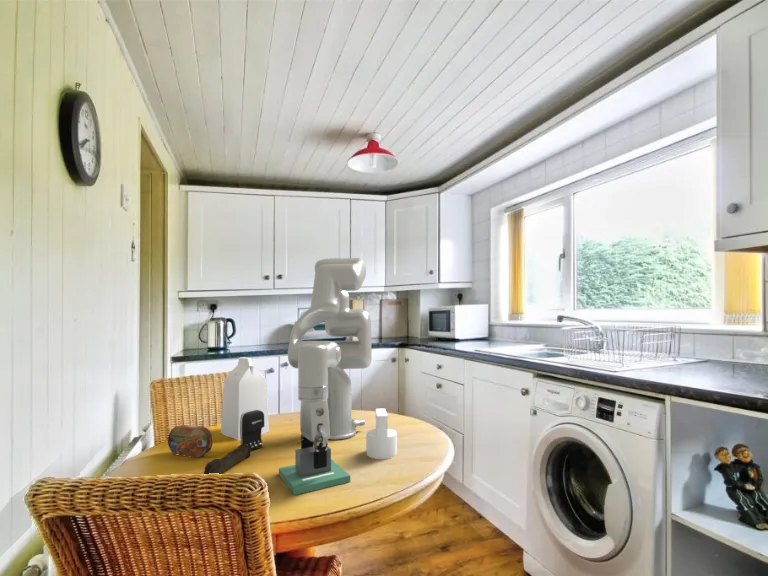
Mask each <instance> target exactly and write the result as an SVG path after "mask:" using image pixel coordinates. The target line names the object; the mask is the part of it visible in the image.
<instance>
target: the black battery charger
mask: <svg viewBox="0 0 768 576" xmlns="http://www.w3.org/2000/svg"><path fill="white" fill-rule="evenodd" d="M262 427H264V413H263V412H262V411H259V410H252V411H248V412H245V413H243V414H242V415H241V419H240V438H241V440H240V445H242V444H244V445H248V446H249V447H250V452H251V451H252V452H253V451H254V450H257V449H260V448H262V447H263V440H262V434H261V429H262Z"/></svg>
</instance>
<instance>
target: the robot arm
mask: <svg viewBox="0 0 768 576" xmlns="http://www.w3.org/2000/svg"><path fill="white" fill-rule="evenodd" d="M366 275H367V267H366V263H365V261H364V260H363V259H362V258H359V257H350V258H349V257H348V258H347V257H345V258H341V257H339V258H336V257H334V258H333V257H332V258H330V257H329V258H324V259H323V258H322V259H319V260H317V261H316V262H315V265H314V281H313V286H312V294H311V301H310V306H309V308H308V309H307V310H306V311H304V312H303V314H302V315H300V316H299V318H298V319H297V321H295V323H294V325H293V326H292V329H291V332H290V337H289V343H288V348H287V361H288V364H289V365H290V366H291V367H292V368H294V369H297V371H298V373H297V376H298V379H297V381H298V382H297V383H298V384H297V385H298V386H297V394H298V395H297V399H298V400H299V401H300V409H299V410H300V412H299V424H300V425H299V429H300V433H301V435H300V449H302V448H308V447H313V446H314V448H315V452H314V469H318V468H323V467H326V466H327V446H328V444H329V443H328V440H334V441H335V440H345V439H349V438H352V437H354V436H355V435H357V429H356V428H357V427H362V426H365V419H359V420H358V419H353V417H352V381H351V378H350V376H349V374H347V372H346V371H345V370H349V369H350V370H355V369H360V370H363V369H367V368H369V367H370V366H371V363H372V356H373V354H372V349H373V348H372V320H371V316H370V313H369V312H368V311H367V310H365V309H362V308H361V309H360V308H359V309H358V308H354V309H353V308H352V309H351V308H350V293H349V292H352V291H353V292H354V291H358V290H360V289H361V287H362V285H363V284H364V281H365V280H366V279H365V278H366V277H367V276H366ZM322 323H324V328H325V329H324V330H325V333H326V334H327V335H328V336H329V337H332V338H333V337H335V338H337V337H338V338H341V337H342V338H350V337H351V338H352V337H353V338H354V337H355V338H357V339H358V340H303V339H304V336H305V335H306V334H307V333H308V331H309V330H311V329H312V328H314V327H316V326H318V325H320V324H322Z"/></svg>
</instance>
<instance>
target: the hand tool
mask: <svg viewBox="0 0 768 576" xmlns="http://www.w3.org/2000/svg"><path fill="white" fill-rule="evenodd" d="M250 456H251V451H250V447H249V446H248V445H244V444H242V445H241V444H239V445H238V446H237V447H236V448H235V449H233V450H231V451H229V452H227V454H226V455H224V456H223V457H221V458H214V459H212V460H211V461H208V462H207V463H206V464H205V467H204V470H203V471H204V472H203V475H204V474H209V473H219V474H223V473H224V472H226V471H228V469H231V468H232V467H233V466H234V465H236V464H238V463H240V462H241V461H243V460H244V459H249V458H250Z"/></svg>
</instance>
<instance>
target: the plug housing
mask: <svg viewBox="0 0 768 576" xmlns="http://www.w3.org/2000/svg"><path fill="white" fill-rule="evenodd" d="M314 452H315V448H314V445H313V447H308V448H302V449H301V448H299V449H295V454H294V455H295V457H294V458H295V459H294V460H295V463H294V465H295V472H296V473H297V475H298V476H299V477H300V478H301V477H306V476H310V475H315V474H320V473H324V472H329V471H331V459H332V449H331V447H329V446H328V445H327V466H326V467H323V468H318V469H314Z"/></svg>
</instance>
